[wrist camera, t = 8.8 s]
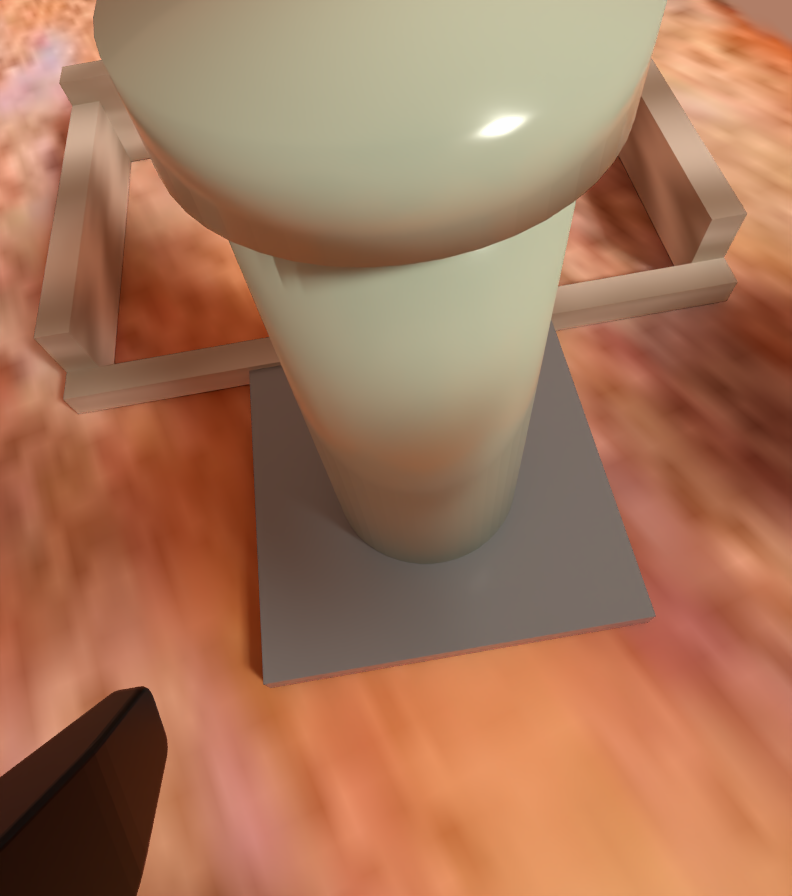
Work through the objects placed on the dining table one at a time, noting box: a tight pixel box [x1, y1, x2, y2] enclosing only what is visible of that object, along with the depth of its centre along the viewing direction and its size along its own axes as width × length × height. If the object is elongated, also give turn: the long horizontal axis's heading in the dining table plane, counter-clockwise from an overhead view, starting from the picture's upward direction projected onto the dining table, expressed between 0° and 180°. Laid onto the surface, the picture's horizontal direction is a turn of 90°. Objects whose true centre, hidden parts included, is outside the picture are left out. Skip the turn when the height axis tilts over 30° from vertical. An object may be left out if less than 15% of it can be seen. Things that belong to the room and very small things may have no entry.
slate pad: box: [249, 320, 656, 688], centre depth 20 cm, size 11×11×1 cm
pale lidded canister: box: [93, 0, 667, 564], centre depth 13 cm, size 7×7×14 cm
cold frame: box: [34, 58, 747, 414], centre depth 25 cm, size 15×24×4 cm, turn 99°
